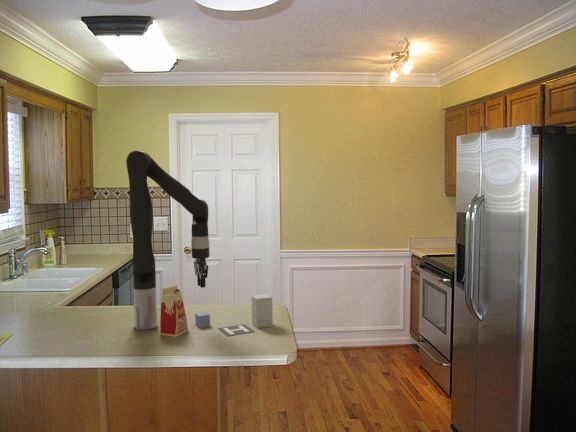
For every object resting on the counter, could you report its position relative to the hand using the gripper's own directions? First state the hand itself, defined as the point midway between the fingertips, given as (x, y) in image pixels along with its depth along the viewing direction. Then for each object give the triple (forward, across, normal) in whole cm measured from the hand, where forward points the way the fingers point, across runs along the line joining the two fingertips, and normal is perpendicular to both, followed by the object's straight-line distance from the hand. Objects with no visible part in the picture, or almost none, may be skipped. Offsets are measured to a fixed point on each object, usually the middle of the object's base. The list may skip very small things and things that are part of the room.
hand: (201, 286), depth 223 cm
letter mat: (+17, +14, +10) cm, 24 cm away
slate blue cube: (+17, 0, 0) cm, 17 cm away
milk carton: (+17, +4, -14) cm, 23 cm away
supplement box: (+17, +13, +23) cm, 31 cm away
